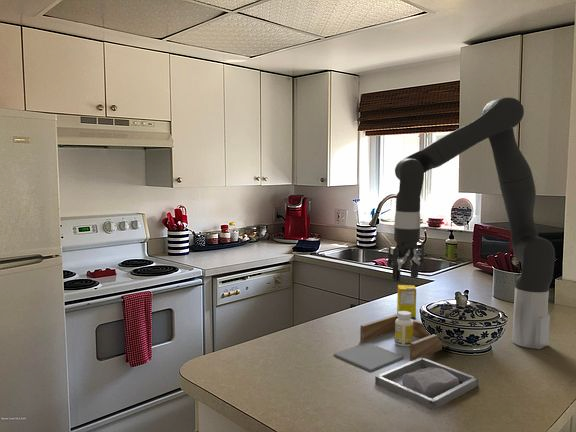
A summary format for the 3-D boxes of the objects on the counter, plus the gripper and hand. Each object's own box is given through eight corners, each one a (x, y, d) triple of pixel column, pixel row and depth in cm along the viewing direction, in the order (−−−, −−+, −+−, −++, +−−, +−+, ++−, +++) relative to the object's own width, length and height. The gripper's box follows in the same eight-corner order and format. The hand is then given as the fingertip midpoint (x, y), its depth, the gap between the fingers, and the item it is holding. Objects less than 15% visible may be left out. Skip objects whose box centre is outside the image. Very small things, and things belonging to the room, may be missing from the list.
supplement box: (413, 314, 180) (414, 284, 179) (415, 319, 175) (416, 289, 173) (396, 313, 181) (397, 284, 180) (398, 318, 175) (399, 288, 174)
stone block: (398, 391, 125) (426, 401, 116) (396, 372, 125) (424, 380, 116) (433, 383, 130) (462, 391, 121) (432, 365, 131) (461, 371, 122)
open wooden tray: (448, 346, 149) (449, 330, 149) (413, 361, 139) (413, 344, 138) (395, 328, 165) (396, 314, 164) (360, 340, 154) (360, 325, 153)
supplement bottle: (413, 341, 153) (414, 311, 152) (411, 348, 148) (412, 316, 147) (395, 339, 155) (396, 309, 154) (393, 345, 150) (394, 314, 149)
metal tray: (477, 385, 124) (478, 378, 123) (432, 410, 112) (433, 401, 112) (421, 364, 137) (421, 357, 137) (375, 383, 125) (375, 376, 125)
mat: (403, 358, 141) (403, 356, 141) (370, 371, 132) (370, 369, 132) (366, 343, 151) (366, 342, 151) (333, 355, 143) (333, 353, 143)
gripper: (402, 229, 140) (400, 285, 142) (432, 225, 149) (430, 278, 151) (381, 226, 146) (380, 280, 148) (411, 223, 155) (410, 273, 157)
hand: (405, 279), depth 149 cm, fingers open, 8 cm apart
